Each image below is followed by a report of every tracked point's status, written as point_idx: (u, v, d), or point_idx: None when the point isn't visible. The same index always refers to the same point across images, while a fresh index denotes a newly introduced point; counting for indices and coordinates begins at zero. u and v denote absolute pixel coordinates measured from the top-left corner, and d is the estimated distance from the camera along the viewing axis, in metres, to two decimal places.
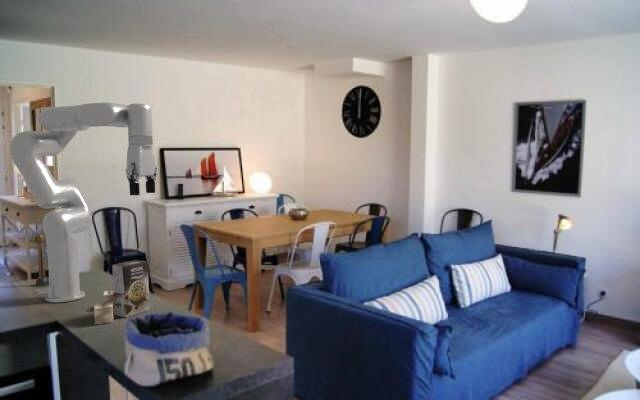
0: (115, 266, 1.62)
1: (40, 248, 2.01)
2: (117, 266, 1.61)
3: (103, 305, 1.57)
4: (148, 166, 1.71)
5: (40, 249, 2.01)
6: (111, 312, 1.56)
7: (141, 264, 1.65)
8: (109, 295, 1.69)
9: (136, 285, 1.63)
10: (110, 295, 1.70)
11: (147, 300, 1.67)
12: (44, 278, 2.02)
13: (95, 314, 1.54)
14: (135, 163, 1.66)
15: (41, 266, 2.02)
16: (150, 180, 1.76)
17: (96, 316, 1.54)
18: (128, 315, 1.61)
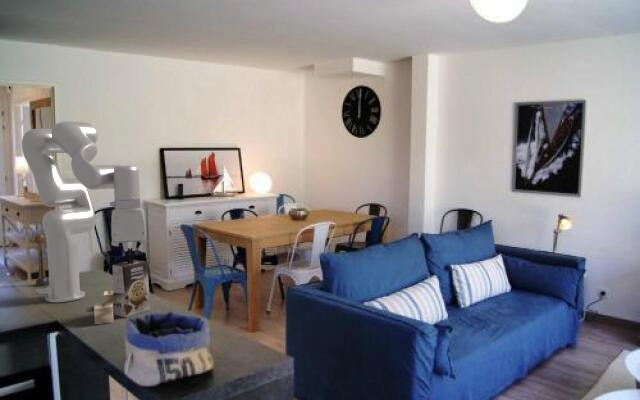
0: (115, 266, 1.62)
1: (40, 248, 2.01)
2: (117, 266, 1.61)
3: (103, 305, 1.57)
4: None
5: (40, 249, 2.01)
6: (111, 312, 1.56)
7: (141, 264, 1.65)
8: (109, 295, 1.69)
9: (136, 285, 1.63)
10: (110, 295, 1.70)
11: (147, 300, 1.67)
12: (44, 278, 2.02)
13: (95, 314, 1.54)
14: None
15: (41, 266, 2.02)
16: (128, 249, 1.64)
17: (96, 316, 1.54)
18: (128, 315, 1.61)
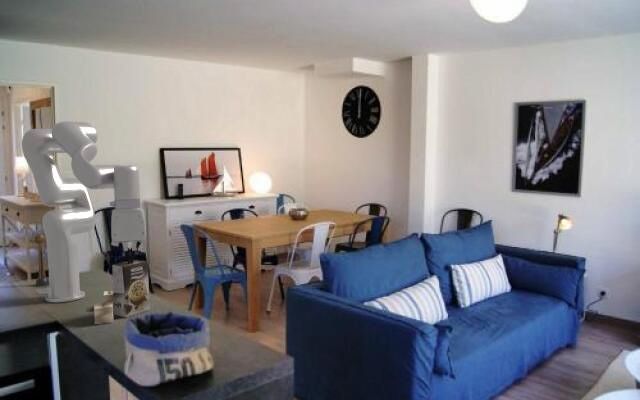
0: (115, 266, 1.62)
1: (40, 248, 2.01)
2: (117, 266, 1.61)
3: (103, 305, 1.57)
4: None
5: (40, 249, 2.01)
6: (111, 312, 1.56)
7: (141, 264, 1.65)
8: (109, 295, 1.69)
9: (136, 285, 1.63)
10: (110, 295, 1.70)
11: (147, 300, 1.67)
12: (44, 278, 2.02)
13: (95, 314, 1.54)
14: None
15: (41, 266, 2.02)
16: (128, 249, 1.64)
17: (96, 316, 1.54)
18: (128, 315, 1.61)
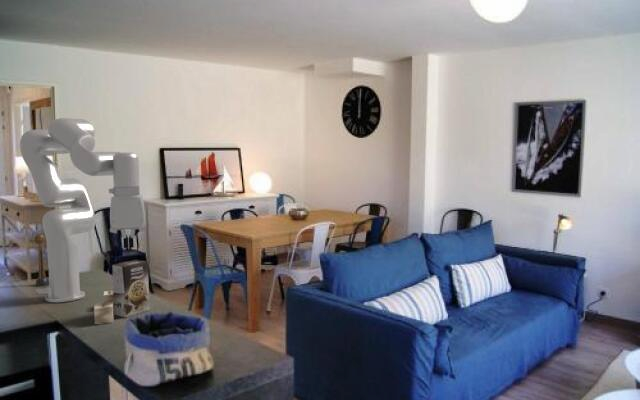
0: (115, 266, 1.62)
1: (40, 248, 2.01)
2: (117, 266, 1.61)
3: (103, 305, 1.57)
4: None
5: (40, 249, 2.01)
6: (111, 312, 1.56)
7: (141, 264, 1.65)
8: (109, 295, 1.69)
9: (136, 285, 1.63)
10: (110, 295, 1.70)
11: (147, 300, 1.67)
12: (44, 278, 2.02)
13: (95, 314, 1.54)
14: None
15: (41, 266, 2.02)
16: None
17: (96, 316, 1.54)
18: (128, 315, 1.61)
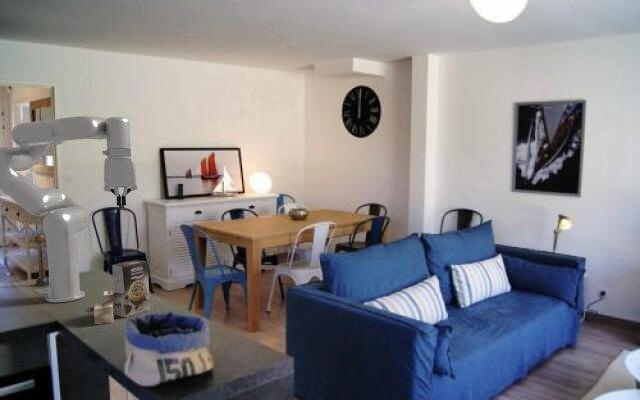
0: (115, 266, 1.62)
1: (40, 248, 2.01)
2: (117, 266, 1.61)
3: (103, 305, 1.57)
4: None
5: (40, 249, 2.01)
6: (111, 312, 1.56)
7: (141, 264, 1.65)
8: (109, 295, 1.69)
9: (136, 285, 1.63)
10: (110, 295, 1.70)
11: (147, 300, 1.67)
12: (44, 278, 2.02)
13: (95, 314, 1.54)
14: None
15: (41, 266, 2.02)
16: None
17: (96, 316, 1.54)
18: (128, 315, 1.61)
